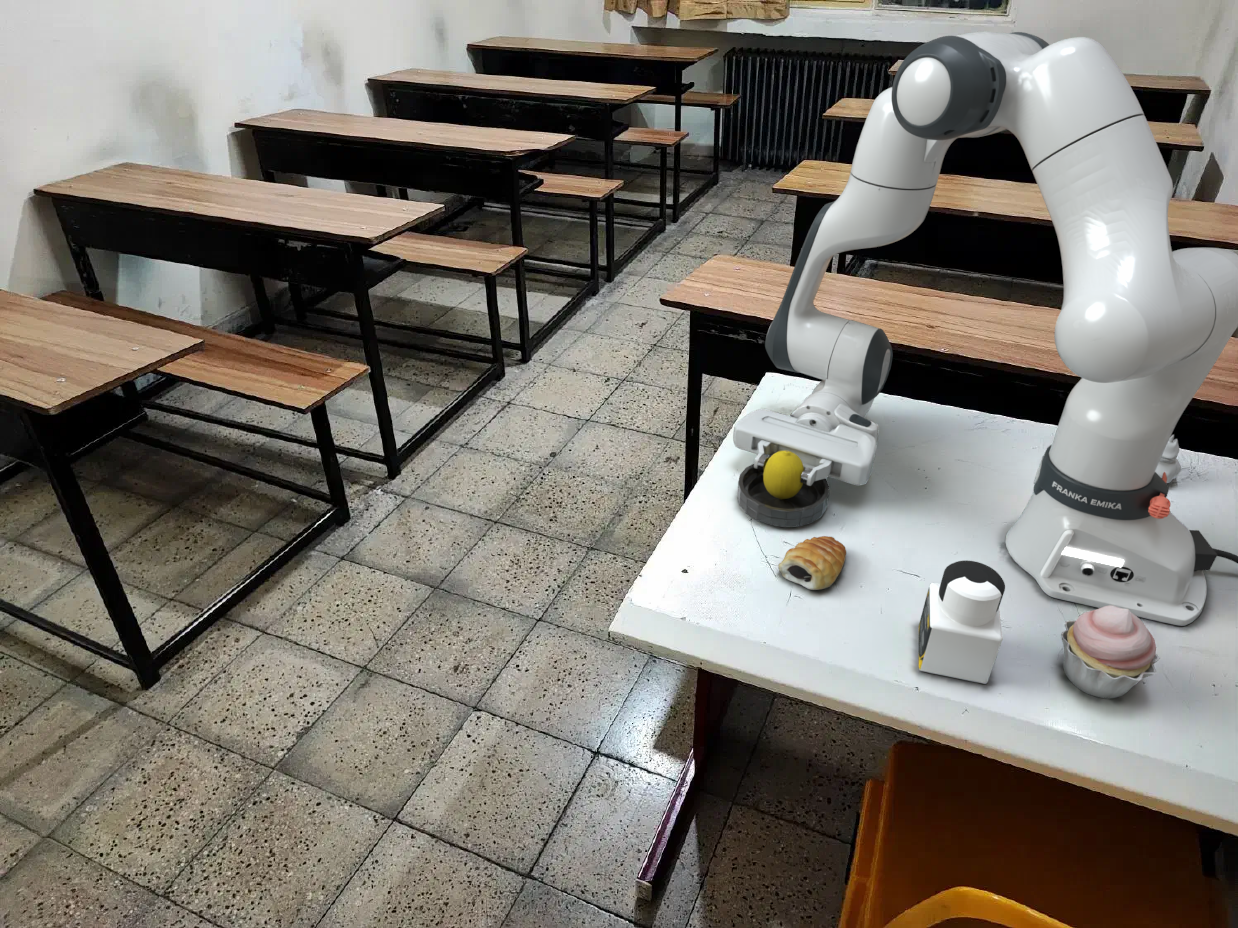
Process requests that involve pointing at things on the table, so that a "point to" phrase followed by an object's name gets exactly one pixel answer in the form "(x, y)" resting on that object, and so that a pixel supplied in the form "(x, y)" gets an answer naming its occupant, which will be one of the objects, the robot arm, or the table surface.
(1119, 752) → the table surface
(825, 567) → the pastry
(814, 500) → the shallow dish
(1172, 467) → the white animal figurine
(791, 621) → the table surface
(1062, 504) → the robot arm
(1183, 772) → the table surface
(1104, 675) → the cupcake
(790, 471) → the lemon
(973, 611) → the medicine bottle
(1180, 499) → the table surface
